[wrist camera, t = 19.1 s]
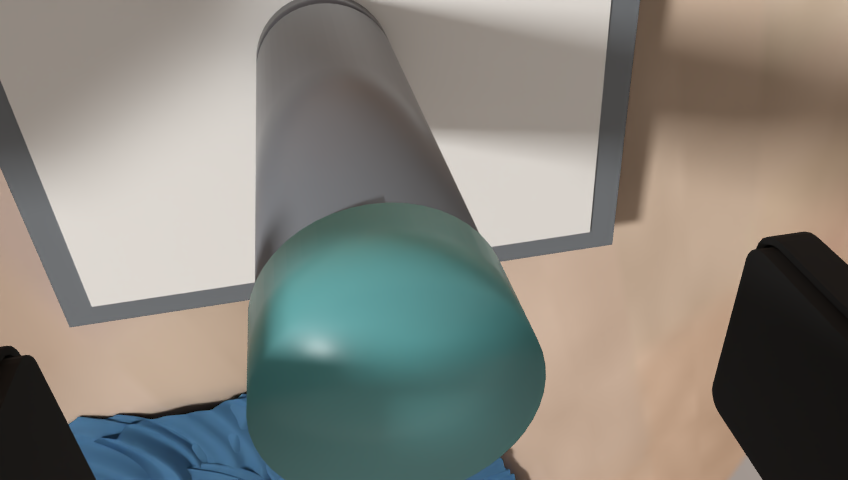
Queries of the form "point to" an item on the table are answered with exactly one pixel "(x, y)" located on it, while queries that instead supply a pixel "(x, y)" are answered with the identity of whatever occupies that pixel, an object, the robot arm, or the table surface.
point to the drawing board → (236, 133)
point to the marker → (371, 273)
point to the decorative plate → (187, 447)
